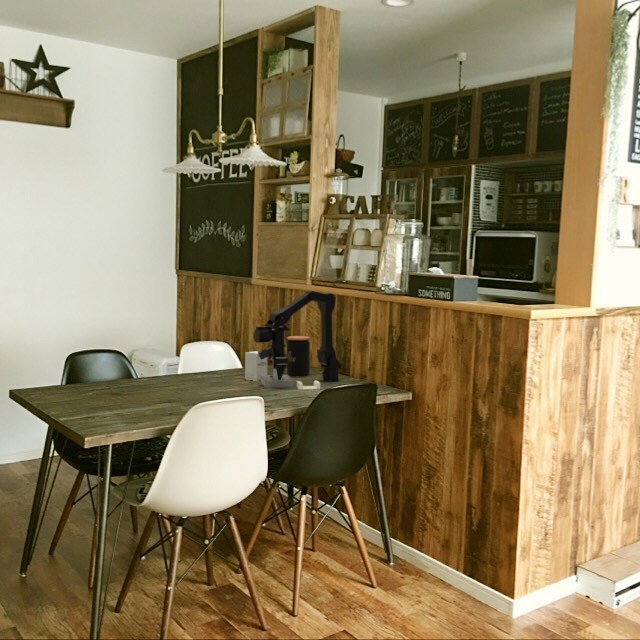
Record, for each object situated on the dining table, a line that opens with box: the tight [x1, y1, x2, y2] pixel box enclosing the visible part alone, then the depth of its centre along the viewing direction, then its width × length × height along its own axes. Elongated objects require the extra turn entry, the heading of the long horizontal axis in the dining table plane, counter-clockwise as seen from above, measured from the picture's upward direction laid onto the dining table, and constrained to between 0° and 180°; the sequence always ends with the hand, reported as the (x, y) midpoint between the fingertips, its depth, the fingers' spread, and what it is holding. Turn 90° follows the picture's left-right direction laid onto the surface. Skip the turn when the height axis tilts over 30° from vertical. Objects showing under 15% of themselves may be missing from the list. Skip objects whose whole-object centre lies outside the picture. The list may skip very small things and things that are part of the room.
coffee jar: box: [286, 335, 311, 377], centre depth 345 cm, size 11×11×18 cm
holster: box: [295, 380, 321, 390], centre depth 307 cm, size 9×7×3 cm
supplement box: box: [244, 350, 268, 382], centre depth 331 cm, size 7×7×13 cm
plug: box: [272, 367, 283, 380], centre depth 311 cm, size 4×4×8 cm
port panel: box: [260, 374, 294, 389], centre depth 315 cm, size 12×16×4 cm
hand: (277, 378), depth 311 cm, fingers open, 9 cm apart
